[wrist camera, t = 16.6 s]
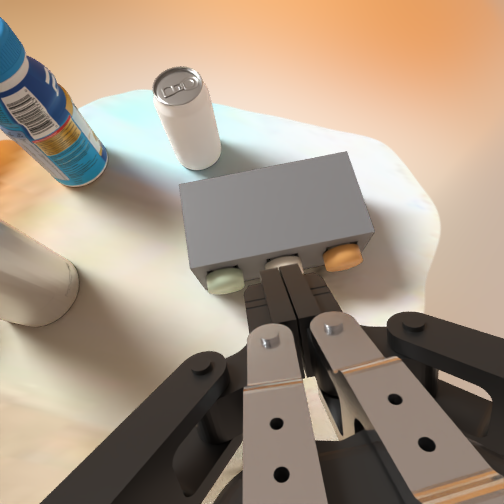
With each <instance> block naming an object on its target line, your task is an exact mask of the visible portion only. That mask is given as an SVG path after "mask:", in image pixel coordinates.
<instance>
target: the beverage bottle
mask: <svg viewBox="0 0 504 504" xmlns="http://www.w3.org/2000/svg"><path fill="white" fill-rule="evenodd" d="M0 129H1V130H2V131H3V132H4V133H5V134H6V135H7V136H8V137H9V138H10V139H12V140H14V141H15V142H16V143H17V144H18V145H20V146H21V147H22V148H23V149H24V150H25V151H26V152H27V153H28V154H29V155H30V156H32V157H33V158H34V159H35V160H36V161H37V162H38V163H39V164H40V165H41V166H42V167H43V168H45V169H46V170H47V171H48V172H49V173H50V174H51V175H52V176H53V177H54V178H55V179H56V180H57V181H58V182H59V183H61V184H63V185H66V186H71V187H78V186H83V185H86V184H89V183H91V182H93V181H94V180H96V179H97V178H98V177H99V176H100V175H101V174H102V173H103V171H104V170H105V168H106V165H107V161H108V155H107V151H106V149H105V147H104V145H103V144H102V143H101V141H100V140H99V139H98V138H97V136H96V135H95V133H94V132H93V131H92V129H91V128H90V126H89V125H88V123H87V122H86V121H85V119H84V118H83V116H82V115H81V113H80V112H79V111H78V109H77V108H76V106H75V105H74V104H73V102H72V99H71V98H70V96H69V94H68V93H67V92H66V90H65V89H64V88H63V87H62V86H61V85H59V84H58V83H57V82H56V79H55V77H54V75H53V74H52V73H51V71H50V70H48V69H47V68H46V67H45V66H44V65H42V64H41V63H40V62H38V61H36V60H35V59H33V58H31V57H29V56H27V55H26V52H25V50H24V47H23V45H22V44H21V42H20V41H19V39H18V38H17V37H16V35H15V34H14V32H13V31H12V30H11V28H10V27H9V26H8V24H7V23H6V22H5V21H4V20H3V19H2V18H1V17H0Z"/></svg>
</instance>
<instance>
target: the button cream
mask: <svg viewBox="0 0 504 504" xmlns="http://www.w3.org/2000/svg"><path fill="white" fill-rule="evenodd" d="M270 260H271V261H269V262H268V263H267V264H266V265H265V270H266V269H271V268H276V267H278V270H279V267H280V266H285V265H290V264H295V263H297V264H298V265H299V267H300V269H301V271H302V273H303V274H304V271H303V267H302V263H301V260H300V258H299V257H297V256H292V254H291V255H286V256H281V257H276V258H271V259H270Z"/></svg>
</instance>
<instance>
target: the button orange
mask: <svg viewBox="0 0 504 504" xmlns="http://www.w3.org/2000/svg"><path fill="white" fill-rule="evenodd" d="M323 260H324V263H325V267H326V270H327V271H329V272H336V271H342V270H346V269H349V268H352V267H355V266H357V265H359V264H360V263H362V261H363V258H362V255H361V252H360V249H359V246H358V245H357V244H350V243H346V244H341V245H336V246H331V247H328V251H326V252H325V253H324V254H323Z"/></svg>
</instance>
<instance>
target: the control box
mask: <svg viewBox="0 0 504 504" xmlns="http://www.w3.org/2000/svg"><path fill="white" fill-rule="evenodd" d="M179 189H180V196H181V204H182V211H183V219H184V227H185V234H186V242H187V249H188V257H189V265H190V269H191V271H192V272H193V273H194V275H195V276H196V277H197V279H198V280H199V282H200V283H201V284H202V286H203V287H204V288H205V289H207V288H208V287H207V280H206V276H207V275H208V274H209V273H211V270H216V269H221V268H226V267H231V266H236V265H238V267H234V268H237V269H241V270H242V272H243V278H244V281H247V280H252V279H257V278H260V273H259V271H261V270H265V265H266V264H267V263H268V262H269V261H271V260H269V261H267V259H271V258H276V257H281V256H286V255H291V254H294V256H297V257H299V258H300V260H301V263H302V267H303V269H307V268H312V267H317V266H322V265H325V263H324V260H323V254H324V253H325V252H326V251H328V249H326V248H327V247H331V246H336V245H341V244H346V243H350V244H357V245H358V246H359V249H360V252H362V251H363V249H364V248H365V246H366V245H367V243H368V242H369V240H370V238H371V237H372V235H373V234H374V232H375V230H374V227H373V225H372V222H371V219H370V216H369V213H368V210H367V207H366V205H365V202H364V199H363V196H362V193H361V190H360V187H359V185H358V182H357V179H356V176H355V173H354V170H353V167H352V165H351V162H350V159H349V156H348V153H347V151H346V152H341V153H336V154H331V155H326V156H320V157H315V158H310V159H305V160H300V161H295V162H290V163H285V164H280V165H275V166H270V167H265V168H260V169H255V170H250V171H244V172H239V173H234V174H229V175H224V176H219V177H214V178H209V179H204V180H199V181H194V182H189V183H184V184H179Z"/></svg>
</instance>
